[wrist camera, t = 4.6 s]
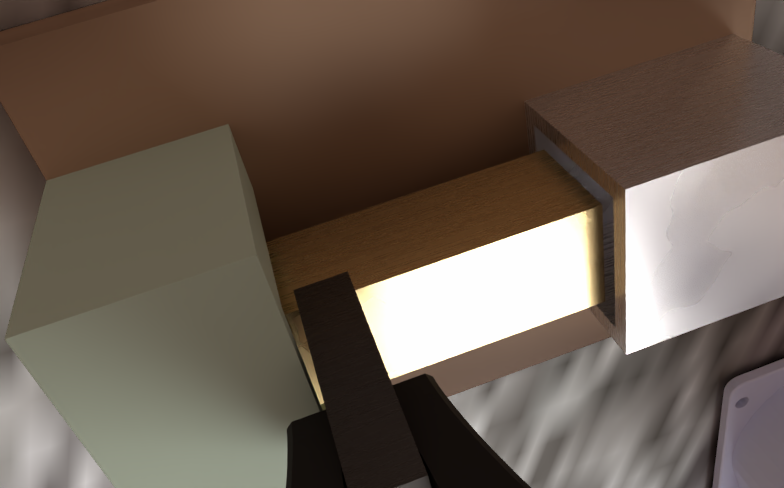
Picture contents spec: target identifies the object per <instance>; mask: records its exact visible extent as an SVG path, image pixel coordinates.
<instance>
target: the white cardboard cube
mask: <svg viewBox="0 0 784 488" xmlns="http://www.w3.org/2000/svg"><path fill="white" fill-rule="evenodd" d="M524 103H525V113H526V124H527V134H528V144H529V154H532V153H535V152H538V151H541V150H545V151H546V152H547V153H548V154H549V155H550V156H551V157H553V158H554V159H555V160H556V161H557V162H558V163H559V164H560V165H561V166H562V167H563V168H564V169H565V170H566V171H567V172H568V173H569V174H570V175H571V176H572V177H574V178H575V179H576V180H577V181H578V182H579V183H580V184H581V185H582V186H583V187H584V188H585V189H586V190H587V191H588V192H589V193H590V194H591V195H592V196H593V197H595V198H596V199H597V200H598V201H599V202H600V203H601V204H602V207H603V242H604V277H605V302H602V303H600V304H597V305H594V306H591V307H588V309H589V310H590V311H591V312H592V314H593V315H594V316H595V317H596V318H597V320H598V321H599V322H600V323H601V325H602V326H603V327H604V328H605V329H606V331H607V332H608V333H609V334H610V335H611V337H612V338H613V339H614V340H615V342H616V343H617V344H618V345H619V346H620V348H621V349H622V350H623V351H624V353H625V354H626V355H627V354H629V353H632V352H635V351H638V350H640V349H643V348H646V347H648V346H651V345H654V344H656V343H659V342H662V341H664V340H667V339H670V338H673V337H675V336H678V335H681V334H683V333H686V332H689V331H691V330H694V329H697V328H699V327H702V326H705V325H707V324H710V323H713V322H716V321H718V320H721V319H724V318H726V317H729V316H732V315H734V314H737V313H740V312H742V311H745V310H748V309H750V308H753V307H756V306H759V305H761V304H764V303H767V302H769V301H772V300H775V299H777V298H780V297H783V296H784V56H783V55H780V54H778V53H776V52H774V51H771V50H769V49H767V48H765V47H762V46H760V45H758V44H756V43H753V42H751V41H749V40H746V39H744V38H742V37H740V36H737V35H735V34H730V35H727V36H724V37H721V38H718V39H715V40H712V41H709V42H706V43H703V44H699V45H696V46H693V47H690V48H687V49H684V50H681V51H678V52H675V53H672V54H669V55H665V56H662V57H659V58H656V59H653V60H650V61H647V62H644V63H641V64H638V65H635V66H631V67H628V68H625V69H622V70H619V71H616V72H613V73H610V74H607V75H604V76H601V77H597V78H594V79H591V80H588V81H585V82H582V83H579V84H576V85H573V86H570V87H567V88H563V89H560V90H557V91H554V92H551V93H548V94H545V95H542V96H539V97H536V98H533V99H529V100H526V101H524Z"/></svg>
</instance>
